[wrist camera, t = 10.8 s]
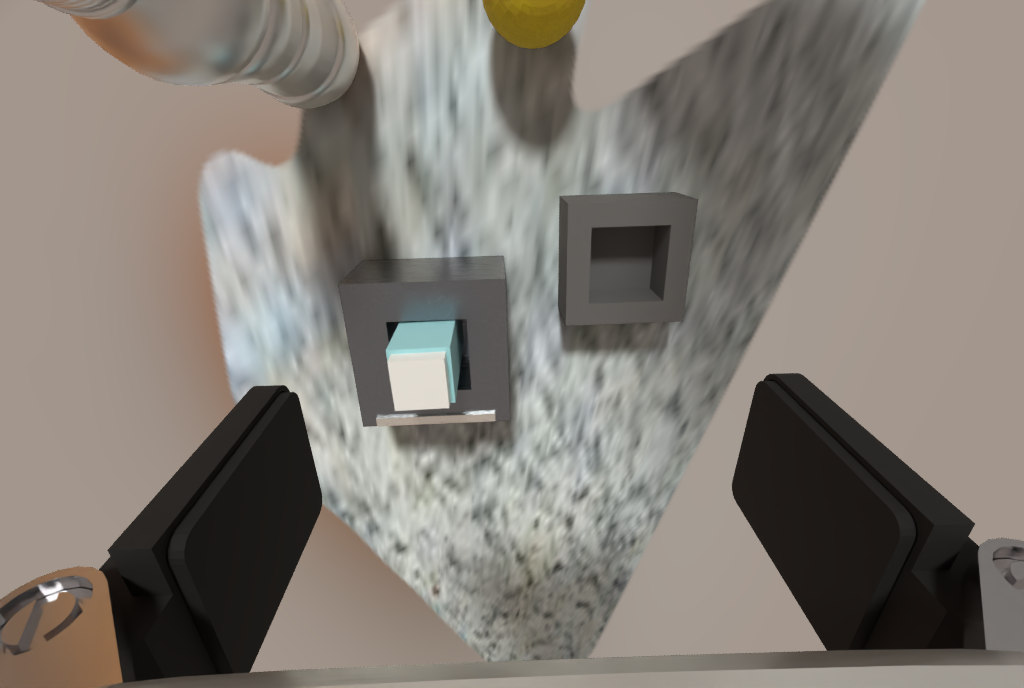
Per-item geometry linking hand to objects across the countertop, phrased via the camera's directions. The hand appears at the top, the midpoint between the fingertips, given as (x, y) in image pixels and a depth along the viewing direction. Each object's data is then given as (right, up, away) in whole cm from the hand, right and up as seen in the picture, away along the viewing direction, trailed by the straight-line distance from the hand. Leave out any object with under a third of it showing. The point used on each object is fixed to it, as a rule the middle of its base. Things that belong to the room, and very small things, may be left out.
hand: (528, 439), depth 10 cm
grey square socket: (+7, +9, +25) cm, 27 cm away
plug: (-6, +4, +25) cm, 26 cm away
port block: (-6, +4, +26) cm, 27 cm away
